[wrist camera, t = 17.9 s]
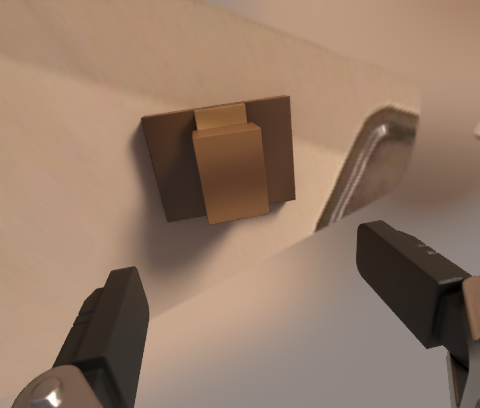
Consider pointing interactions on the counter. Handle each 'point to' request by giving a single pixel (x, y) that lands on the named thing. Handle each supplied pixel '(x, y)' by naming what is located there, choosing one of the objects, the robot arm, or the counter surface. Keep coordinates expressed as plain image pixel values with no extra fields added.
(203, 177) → the stepped wooden block
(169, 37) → the counter surface
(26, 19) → the counter surface
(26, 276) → the counter surface
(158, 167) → the board
